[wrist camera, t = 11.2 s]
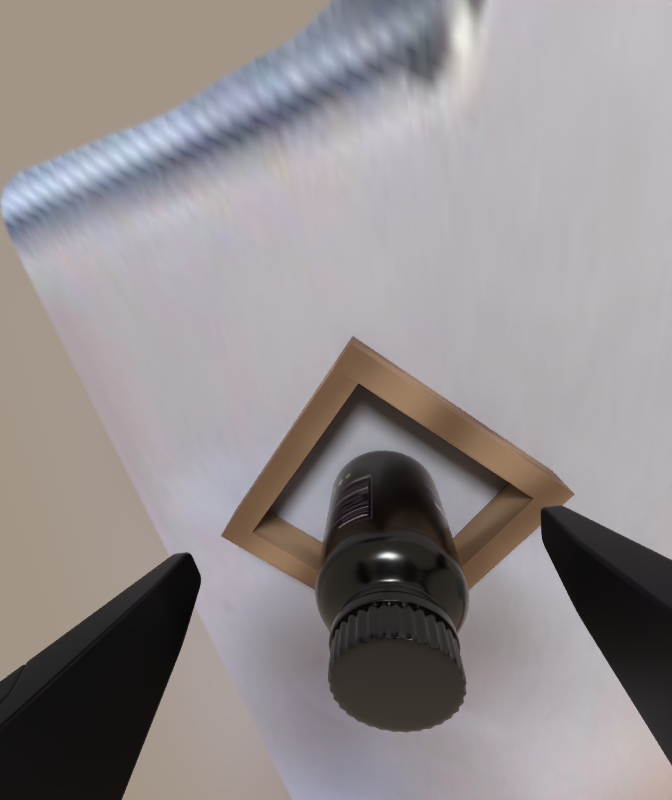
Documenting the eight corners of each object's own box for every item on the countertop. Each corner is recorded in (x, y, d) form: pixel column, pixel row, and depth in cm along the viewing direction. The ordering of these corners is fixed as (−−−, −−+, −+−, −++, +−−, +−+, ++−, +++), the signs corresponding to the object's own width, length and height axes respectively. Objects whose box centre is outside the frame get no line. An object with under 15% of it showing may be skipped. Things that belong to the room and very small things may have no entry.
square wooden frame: (552, 470, 22) (574, 494, 19) (405, 611, 26) (409, 643, 24) (352, 336, 20) (350, 343, 18) (234, 511, 25) (221, 536, 22)
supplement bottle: (457, 485, 23) (547, 690, 11) (391, 550, 25) (411, 776, 13) (373, 425, 22) (379, 583, 10) (312, 498, 24) (262, 694, 13)
